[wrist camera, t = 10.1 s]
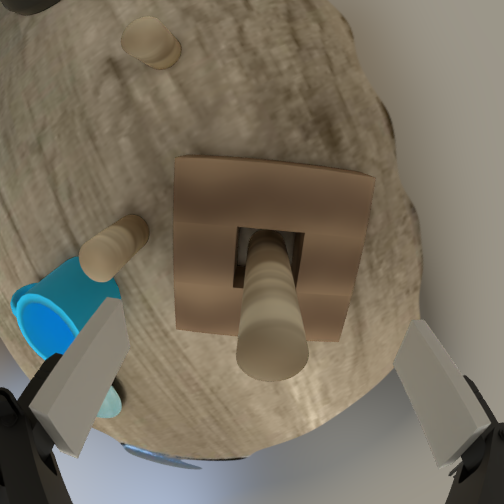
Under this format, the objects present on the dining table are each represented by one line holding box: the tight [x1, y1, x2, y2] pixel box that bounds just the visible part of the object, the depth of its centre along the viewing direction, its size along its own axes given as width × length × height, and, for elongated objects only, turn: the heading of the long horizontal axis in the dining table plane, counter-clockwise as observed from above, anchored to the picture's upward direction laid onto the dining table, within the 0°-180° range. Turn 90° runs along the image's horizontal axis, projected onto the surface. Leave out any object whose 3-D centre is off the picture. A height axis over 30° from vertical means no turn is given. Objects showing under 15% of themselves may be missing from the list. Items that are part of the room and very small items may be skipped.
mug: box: [11, 257, 121, 360], centre depth 24 cm, size 12×8×8 cm
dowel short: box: [121, 16, 182, 70], centre depth 17 cm, size 3×3×5 cm
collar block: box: [173, 155, 376, 342], centre depth 24 cm, size 14×14×4 cm
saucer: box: [96, 385, 122, 418], centre depth 32 cm, size 12×12×2 cm
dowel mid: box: [79, 215, 149, 282], centre depth 22 cm, size 3×3×7 cm
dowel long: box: [236, 229, 309, 382], centre depth 19 cm, size 3×3×14 cm
